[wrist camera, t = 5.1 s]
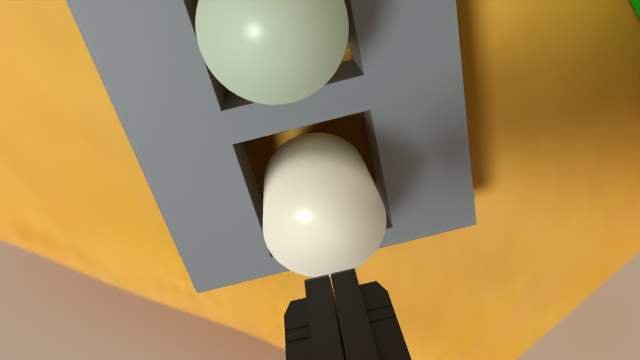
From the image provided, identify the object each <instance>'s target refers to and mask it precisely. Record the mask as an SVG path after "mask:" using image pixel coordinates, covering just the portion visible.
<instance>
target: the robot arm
mask: <svg viewBox="0 0 640 360" xmlns="http://www.w3.org/2000/svg"><path fill="white" fill-rule="evenodd" d="M331 279H332V284H333V288H332V285H331V281H330V277H329V274H327V275H323V276H318V277H314V278H310V279H306V280H305V290H306V298H303V299H298V300H294V301H291V302H290V304H289V306H288V308H287V310H286V313H285V315H284V324H285V343H286V345H285V347H286V360H411V357H410V354H409V352H408V349H407V346H406V343H405V340H404V337H403V334H402V331H401V329H400V326H399V323H398V320H397V318H396V314H395V311H394V309H393V306H392V303H391V300H390V297H389V294H388V291H387V290H386V289H385V288H383V287H382V286H381V285H380V284H379V283H378V282H377V281H374V282H370V283H366V284H361V285H359V283H358V279H357V276H356V272H355V269H354V268H352V269H347V270H343V271H339V272H335V273H331ZM333 289H334V292H333ZM334 294H335V296H334Z"/></svg>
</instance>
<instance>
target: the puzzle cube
mask: <svg viewBox="0 0 640 360" xmlns="http://www.w3.org/2000/svg"><path fill="white" fill-rule="evenodd" d="M629 1H630V3H631V5H632V7H633V9H634V10H635V12H636V14H637V16H638V18H639V19H640V0H629Z"/></svg>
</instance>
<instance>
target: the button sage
mask: <svg viewBox="0 0 640 360" xmlns="http://www.w3.org/2000/svg"><path fill="white" fill-rule="evenodd" d="M195 26H196V36H197V42H198V45H199V49H200V52H201V54H202V57H203V59H204V61H205V63H206V64H207V66H208V68H209V69H210V71H211V72H212V74H213V75H214V76H215V77H216V78H217V79H218V81H219V82H220V83H221V84H222V85H224V86H225V87H226V88H227V89H229V90H230V91H231V92H233V93H235V94H236V95H238V96H240V97H242V98H244V99H246V100H249V101H252V102H255V103H260V104H267V105H282V104H288V103H293V102H296V101H299V100H302V99H304V98H306V97H308V96H310V95H312V94H313V93H315V92H317V91H318V90H319V89H320V88H322V87H323V86H324V85H325V84H326V83H327V82H328V81H329V80H330V79H331V78H332V76H333V75H334V73H335V72H336V71H337V69H338V67H339V65H340V63H341V61H342V59H343V56H344V54H345V50H346V46H347V42H348V34H349V22H348V14H347V9H346V5H345V2H344V0H199V1H198V5H197V10H196V18H195Z"/></svg>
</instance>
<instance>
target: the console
mask: <svg viewBox="0 0 640 360" xmlns="http://www.w3.org/2000/svg"><path fill="white" fill-rule="evenodd" d="M66 1H67V3H68V6H69V8H70V10H71V12H72V15H73V17H74V19H75V21H76V24H77V26H78V28H79V30H80V32H81V35H82V37H83V39H84V41H85V44H86V46H87V48H88V50H89V53H90V55H91V57H92V59H93V62H94V64H95V66H96V68H97V71H98V73H99V75H100V77H101V79H102V82H103V84H104V86H105V88H106V91H107V93H108V95H109V97H110V100H111V102H112V104H113V106H114V109H115V111H116V113H117V115H118V117H119V120H120V122H121V124H122V126H123V129H124V131H125V133H126V135H127V138H128V140H129V142H130V144H131V147H132V149H133V151H134V153H135V156H136V158H137V160H138V162H139V164H140V167H141V169H142V171H143V173H144V176H145V178H146V180H147V182H148V185H149V187H150V189H151V191H152V194H153V196H154V198H155V200H156V202H157V205H158V207H159V209H160V211H161V214H162V216H163V218H164V220H165V223H166V225H167V227H168V229H169V232H170V234H171V236H172V238H173V241H174V243H175V245H176V247H177V249H178V252H179V254H180V256H181V258H182V261H183V263H184V265H185V267H186V270H187V272H188V274H189V276H190V279H191V281H192V283H193V285H194V287H195V290H196V292H197V293H201V292H205V291H209V290H213V289H217V288H221V287H225V286H229V285H233V284H237V283H241V282H245V281H249V280H253V279H257V278H261V277H265V276H269V275H273V274H277V273H282V272H286V271H290V270H289V269H287V268H286V267H284V266H283V265H282V264H280V263H279V262H278V261H277V260H276V259H275V258H274V257H273V255H272V254H271V253H270V251H269V249H268V247H267V245H266V243H265V239H264V236H263V200H262V197H261V194H260V190H259V187H258V184H257V181H256V178H255V175H254V172H253V169H252V166H251V163H250V160H249V157H248V154H247V151H246V148H245V145H244V141H248V140H252V139H256V138H260V137H264V136H268V135H272V134H276V133H280V132H284V131H288V130H292V129H296V128H300V127H304V126H308V125H312V124H316V123H320V122H324V121H327V120H331V119H335V118H339V117H343V116H347V115H351V114H355V113H359V112H363V115H364V120H365V125H366V130H367V135H368V141H369V146H370V151H371V156H372V161H373V166H374V171H375V176H376V181H377V186H378V191H379V195H380V198H381V200H382V202H383V204H384V207H385V211H386V218H387V220H386V230H385V234H384V237H383V240H382V242H381V244H380V246H379V247H378V248H383V247H387V246H391V245H395V244H399V243H403V242H407V241H411V240H415V239H419V238H423V237H427V236H431V235H435V234H439V233H443V232H447V231H451V230H455V229H459V228H463V227H467V226H471V225H475V224H476V215H475V204H474V193H473V182H472V171H471V160H470V150H469V139H468V128H467V117H466V106H465V95H464V84H463V73H462V62H461V51H460V40H459V30H458V19H457V8H456V0H344V2H345V5H346V9H347V14H348V22H349V34H348V39H349V44H350V49H351V54H352V59H353V60H350V61H346V62H342V63H340V65H339V67H338V69H337V71H336V72H335V73H334V75H333V76H332V78H331V79H330V80H329V81H328V82H327V83H326V84H325V85H324V86H323V87H322V88H320V89H319V90H318V91H317V92H315V93H313V94H312V95H310V96H308V97H306V98H304V99H302V100H299V101H296V102H293V103H288V104H282V105H267V104H260V103H255V102H252V101H249V100H246V99H244V98H242V97H240V96H238V95H236V94H235V93H233V92H231V91H227V90H226V87H225V86H224V85H222V84H221V83H220V82H219V81H218V79H217V78H216V77H215V76H214V75H213V74H212V72H211V71H210V69H209V68H208V66H207V64H206V63H205V61H204V59H203V57H202V54H201V52H200V49H199V45H198V42H197V36H196V26H195V18H196V10H197V5H198V1H197V0H66Z"/></svg>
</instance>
